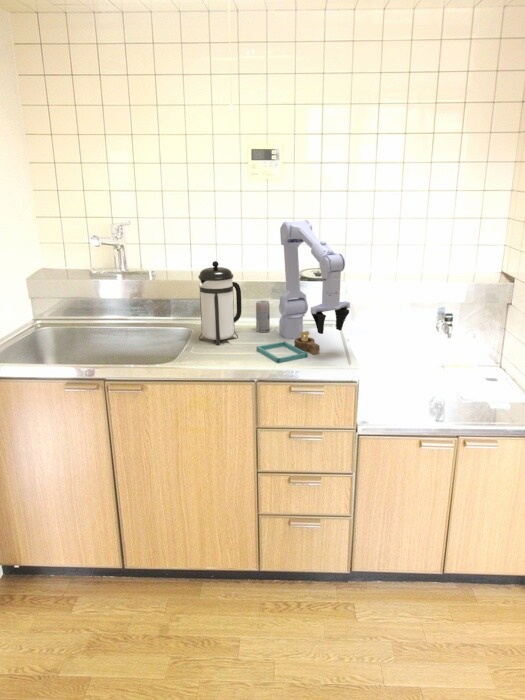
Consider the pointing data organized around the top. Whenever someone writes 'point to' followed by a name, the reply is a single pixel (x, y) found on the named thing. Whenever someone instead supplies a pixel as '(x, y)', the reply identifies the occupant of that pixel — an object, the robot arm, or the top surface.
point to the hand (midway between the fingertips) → (329, 331)
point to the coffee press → (218, 303)
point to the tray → (300, 355)
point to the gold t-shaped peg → (304, 336)
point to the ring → (307, 345)
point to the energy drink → (262, 316)
